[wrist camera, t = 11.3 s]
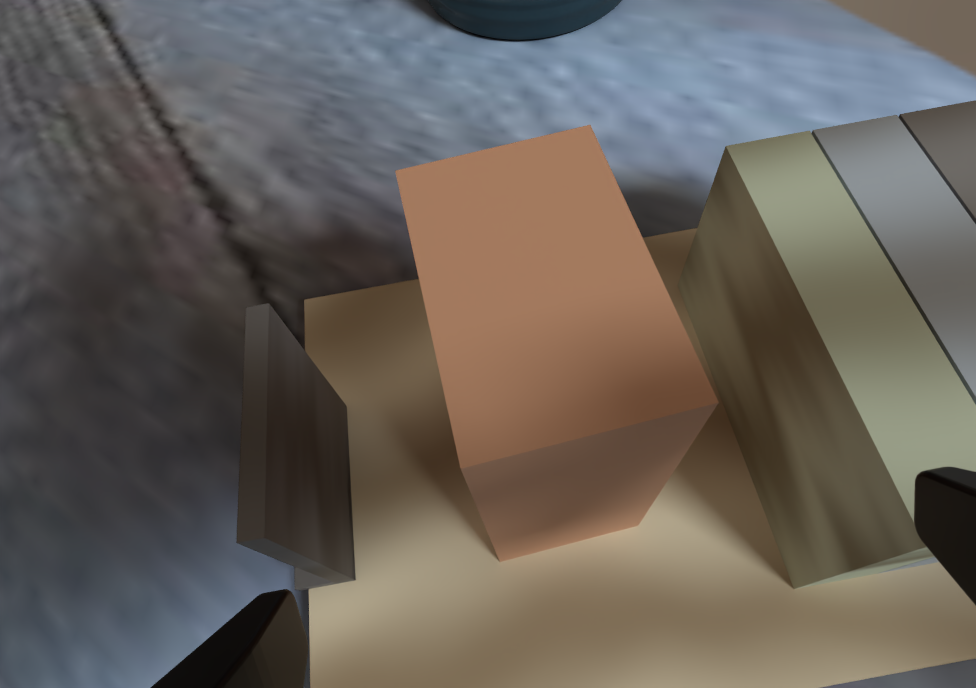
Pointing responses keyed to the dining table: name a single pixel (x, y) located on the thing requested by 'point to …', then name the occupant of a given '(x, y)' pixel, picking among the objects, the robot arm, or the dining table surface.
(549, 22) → the canister
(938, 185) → the wooden board with blocks
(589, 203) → the brown rectangular block
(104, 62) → the dining table surface
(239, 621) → the robot arm
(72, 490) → the dining table surface
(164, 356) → the dining table surface
